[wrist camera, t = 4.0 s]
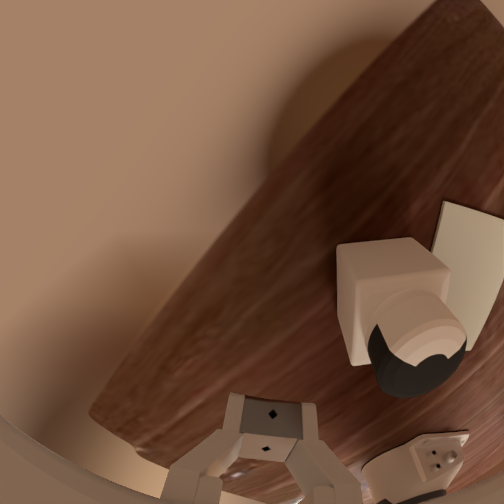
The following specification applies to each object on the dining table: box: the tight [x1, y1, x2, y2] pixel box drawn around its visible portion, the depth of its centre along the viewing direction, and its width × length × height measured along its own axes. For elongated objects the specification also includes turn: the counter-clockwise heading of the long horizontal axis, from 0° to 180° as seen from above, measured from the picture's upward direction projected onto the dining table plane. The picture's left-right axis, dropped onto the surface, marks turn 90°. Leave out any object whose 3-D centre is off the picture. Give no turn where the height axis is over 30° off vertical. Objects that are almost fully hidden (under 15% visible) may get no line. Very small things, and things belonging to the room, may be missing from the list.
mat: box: [430, 201, 504, 351], centre depth 23 cm, size 12×16×1 cm
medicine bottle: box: [336, 237, 467, 398], centre depth 18 cm, size 7×7×12 cm
